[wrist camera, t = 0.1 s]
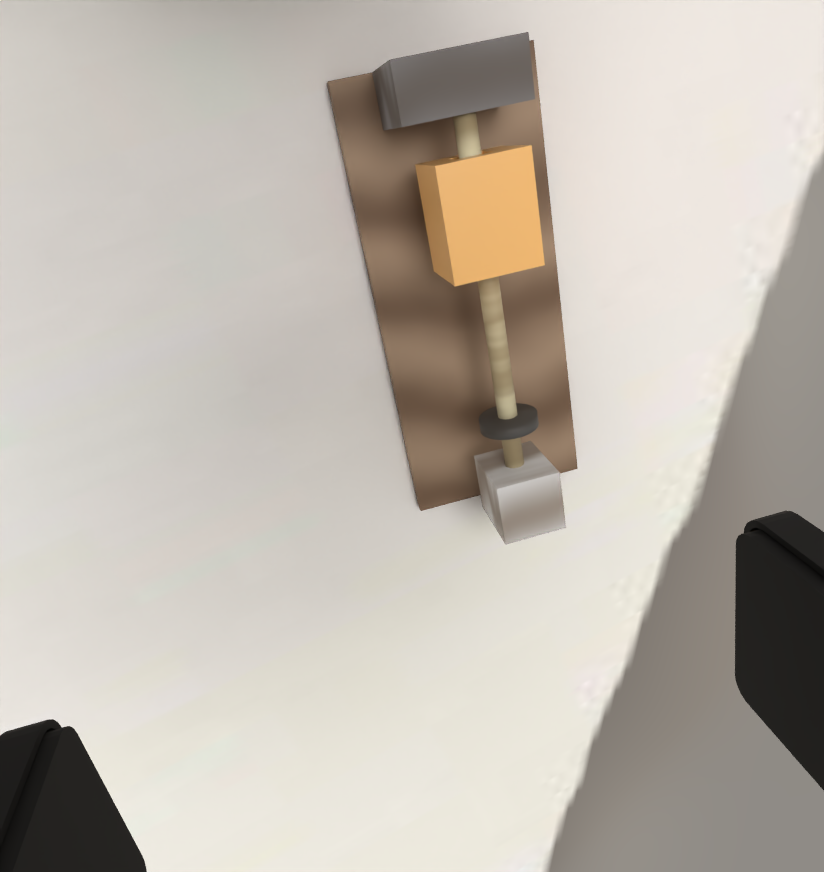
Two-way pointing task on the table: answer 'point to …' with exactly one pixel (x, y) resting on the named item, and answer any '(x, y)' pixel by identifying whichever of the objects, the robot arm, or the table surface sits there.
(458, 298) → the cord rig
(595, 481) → the table surface
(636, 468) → the table surface
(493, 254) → the sleeve
